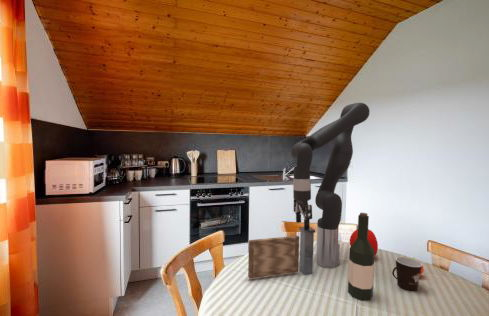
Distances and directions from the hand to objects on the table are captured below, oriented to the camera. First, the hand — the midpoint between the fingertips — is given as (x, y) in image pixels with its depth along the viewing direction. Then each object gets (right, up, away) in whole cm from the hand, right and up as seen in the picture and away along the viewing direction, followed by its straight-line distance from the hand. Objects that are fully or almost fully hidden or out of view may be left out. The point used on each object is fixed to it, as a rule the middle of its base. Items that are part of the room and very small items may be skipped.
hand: (302, 225), depth 111 cm
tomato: (+33, -19, +13) cm, 40 cm away
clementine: (+46, -20, -4) cm, 50 cm away
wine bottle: (+17, -21, -19) cm, 32 cm away
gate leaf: (-14, -18, -8) cm, 24 cm away
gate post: (+1, -19, -4) cm, 20 cm away
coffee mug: (+36, -21, -13) cm, 44 cm away
